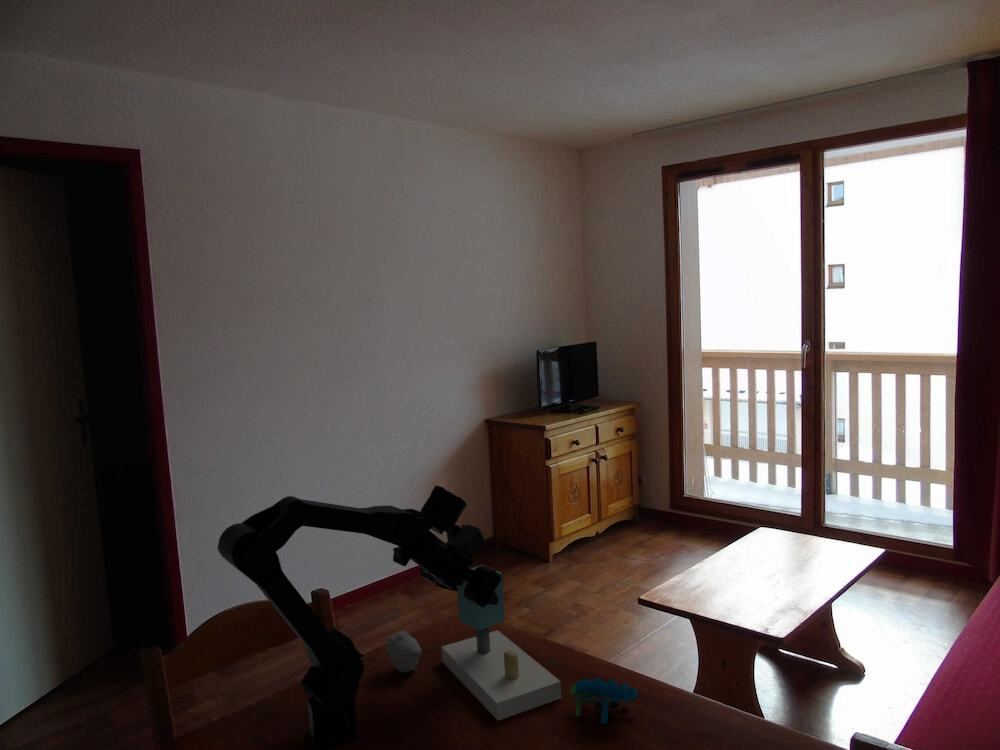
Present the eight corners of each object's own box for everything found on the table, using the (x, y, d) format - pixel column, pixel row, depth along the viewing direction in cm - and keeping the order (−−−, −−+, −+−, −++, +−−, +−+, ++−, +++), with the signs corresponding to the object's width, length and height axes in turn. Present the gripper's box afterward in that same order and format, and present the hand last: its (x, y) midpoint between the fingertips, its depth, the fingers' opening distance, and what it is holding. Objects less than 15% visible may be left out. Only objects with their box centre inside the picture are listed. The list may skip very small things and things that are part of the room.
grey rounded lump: (403, 658, 137) (401, 623, 137) (430, 667, 133) (428, 631, 132) (380, 672, 133) (377, 636, 132) (407, 682, 128) (404, 645, 128)
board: (498, 720, 115) (495, 673, 114) (442, 661, 135) (439, 621, 134) (561, 698, 120) (558, 652, 119) (498, 644, 141) (496, 605, 140)
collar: (478, 630, 127) (475, 582, 127) (459, 620, 132) (456, 573, 131) (504, 620, 131) (502, 572, 130) (485, 610, 136) (482, 564, 135)
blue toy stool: (646, 695, 117) (626, 674, 110) (644, 734, 113) (624, 715, 106) (582, 692, 121) (560, 672, 115) (579, 730, 118) (556, 711, 111)
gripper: (489, 526, 120) (541, 571, 128) (429, 506, 135) (479, 548, 142) (453, 584, 116) (510, 628, 124) (395, 557, 131) (449, 598, 138)
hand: (486, 597), depth 132 cm, fingers closed on collar, 6 cm apart
